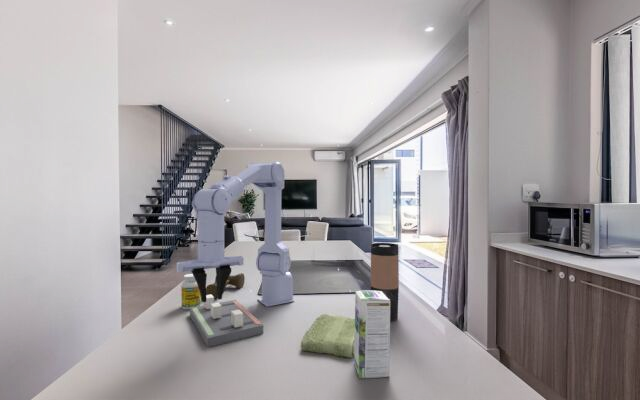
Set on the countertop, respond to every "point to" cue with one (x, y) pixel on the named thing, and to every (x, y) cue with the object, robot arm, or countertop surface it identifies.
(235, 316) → the handle
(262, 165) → the robot arm
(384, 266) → the travel mug
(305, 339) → the washcloth
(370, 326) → the syrup box
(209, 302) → the handle right
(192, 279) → the supplement bottle
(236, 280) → the kendama
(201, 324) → the switch panel
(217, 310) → the handle middle
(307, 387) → the countertop surface
